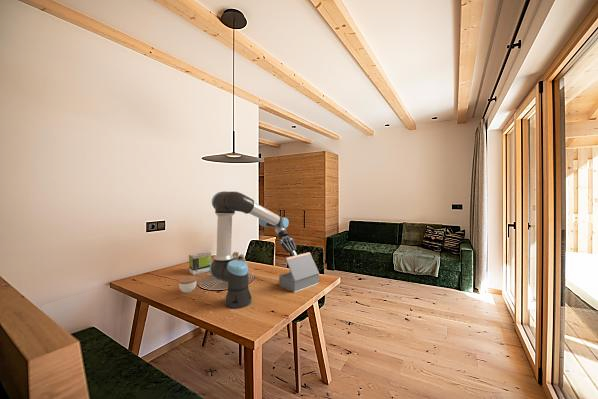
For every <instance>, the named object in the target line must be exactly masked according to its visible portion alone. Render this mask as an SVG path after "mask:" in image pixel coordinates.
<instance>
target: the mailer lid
mask: <svg viewBox="0 0 598 399" xmlns="http://www.w3.org/2000/svg"><path fill="white" fill-rule="evenodd" d="M284 259H285V262H286V264H287V266H288V269H289V271H290V272H291V274H292V276H293V279H294V281H298V280H301V279H304V278H307V277H310V276H313V275H316V274H319V275H320V272H319V269H318V267H317V265H316V263H315V260H314V259H313V256H312V254H311V252H310V251H309V252H308V251H307V252H304V253H300V254H297V255H295V256H292V255H291V256H289V257H288V256H287V257H285V258H284Z"/></svg>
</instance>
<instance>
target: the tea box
mask: <svg viewBox="0 0 598 399" xmlns="http://www.w3.org/2000/svg"><path fill="white" fill-rule="evenodd" d="M212 258H213V257H212V253H211V252H209V251H207V250H206V251H201V252H195V253H190V254H188V264H189V266H188V267H189V273H190V274H191V275H193V276H195V275H199V274H204V273H208V272H209V273H210V265H211V264H212V262H213V261H212V260H213V259H212Z"/></svg>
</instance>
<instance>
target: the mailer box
mask: <svg viewBox="0 0 598 399" xmlns="http://www.w3.org/2000/svg"><path fill="white" fill-rule="evenodd" d="M319 275H320V273H319V274H316V275H313V276H310V277H307V278H304V279H301V280H298V281H294V279H293V276H292V274H291V271H290V272H285V273H283V274H280V275H279V277H278V281H279V283H278V284H279V285H278V286H280V287H282V288H284V289H286V290H289V291H290V292H293V293H297V292H301V291H302V290H306V289H308V288H310V287H311V288H312V287H313V286H315V285H318V284H319V280H320V279H319Z"/></svg>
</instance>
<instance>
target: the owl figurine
mask: <svg viewBox="0 0 598 399" xmlns="http://www.w3.org/2000/svg"><path fill="white" fill-rule="evenodd" d="M231 255H232V256H233V260H238V261H239V260H240V261H244V262H246V258H245V254H242V253H240V254H239V252H238V251H234V252H233V253H231Z"/></svg>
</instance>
